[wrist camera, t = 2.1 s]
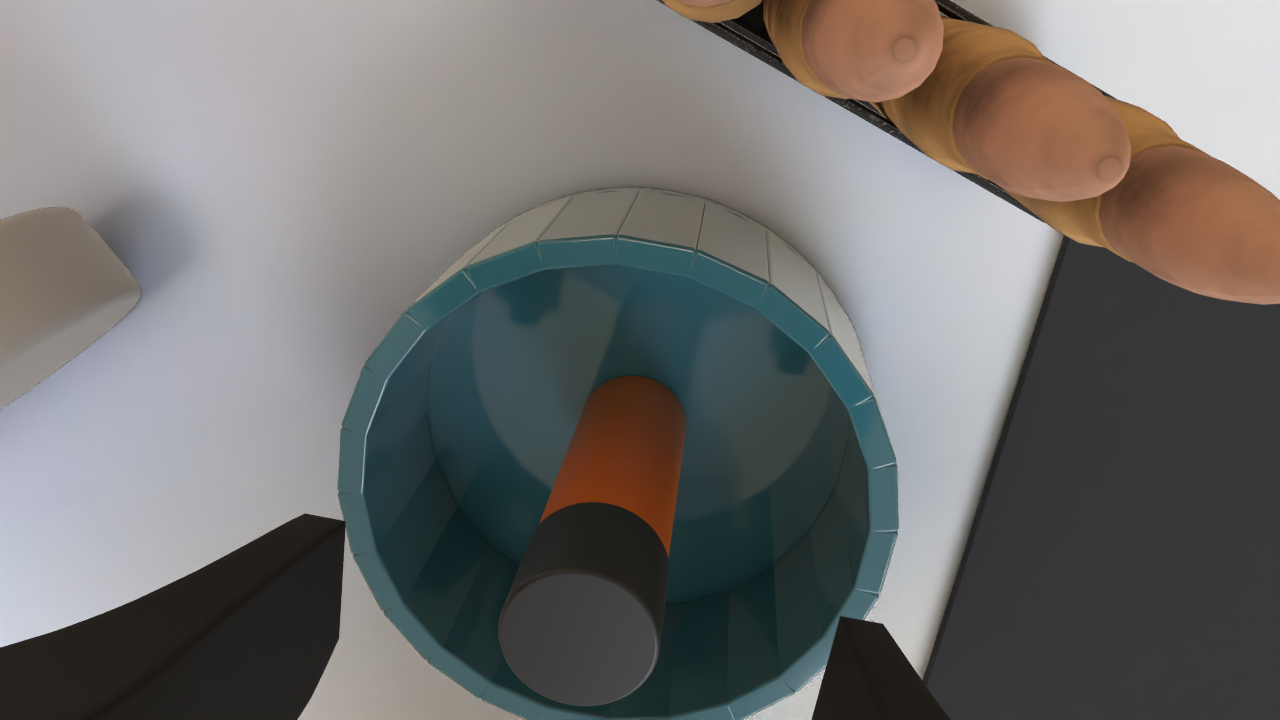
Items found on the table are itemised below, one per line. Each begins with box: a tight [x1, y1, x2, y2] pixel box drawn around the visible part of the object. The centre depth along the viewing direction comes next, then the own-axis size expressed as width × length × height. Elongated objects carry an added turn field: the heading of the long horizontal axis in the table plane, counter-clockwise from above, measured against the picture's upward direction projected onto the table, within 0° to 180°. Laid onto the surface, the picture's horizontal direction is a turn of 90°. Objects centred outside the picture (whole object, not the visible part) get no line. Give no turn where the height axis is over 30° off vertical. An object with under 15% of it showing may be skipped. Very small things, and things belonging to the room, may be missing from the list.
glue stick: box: [498, 376, 686, 706], centre depth 18 cm, size 2×2×8 cm
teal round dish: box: [338, 188, 899, 720], centre depth 20 cm, size 10×10×4 cm
